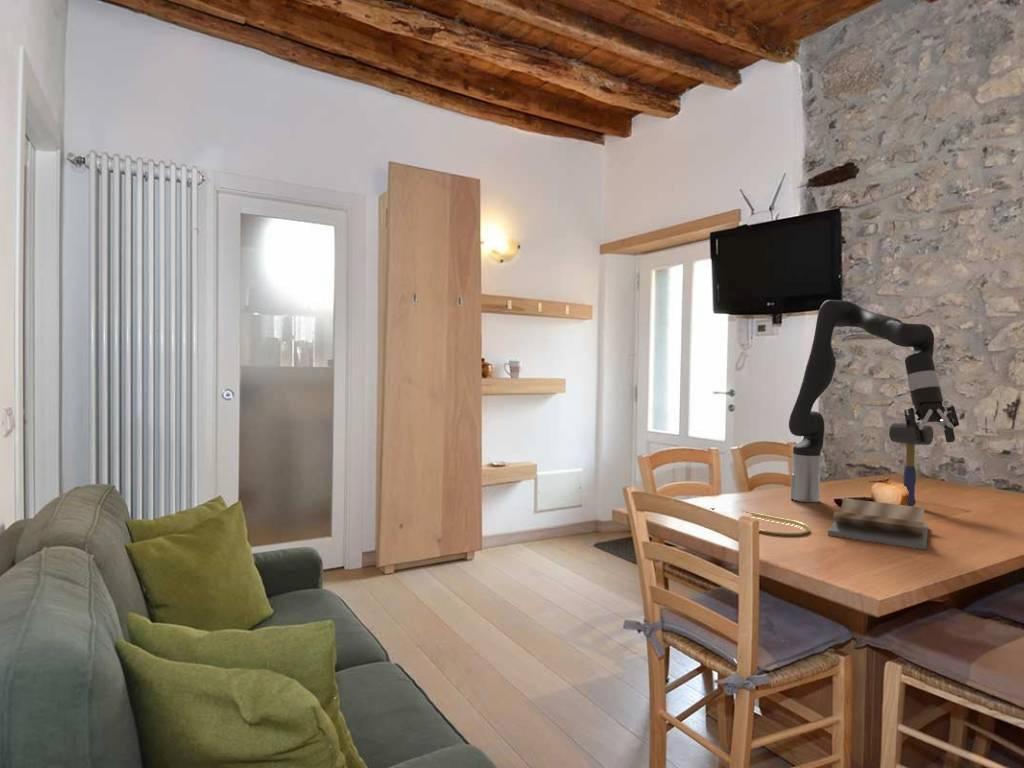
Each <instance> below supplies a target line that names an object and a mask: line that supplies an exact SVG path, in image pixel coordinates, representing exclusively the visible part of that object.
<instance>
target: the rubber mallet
mask: <svg viewBox="0 0 1024 768" xmlns="http://www.w3.org/2000/svg"><path fill="white" fill-rule="evenodd" d="M888 430H889V431H888V437H889V439H890V441H891V442H894V443H901V444H906V450H905V451H906V452H905V466H904V469H903V476H902V477H903V478H902V480H903V487H904V486H906V487H907V489H908V491H909V498H908V502H907V506H913V507H915V505H916V498H915V494H916V493H915V491H916V490H915V489H916V482H917V473H916V467H915V454H916V453H915V449H916V448H915V447H916V445H919V446H920V445H922V446H923V445H924V446H929V445H931V444H932V442H933V439H934V430H933V427H932V426H931V425H927V424H925V425H924V427H923V429H922V430H924V434H925V439H926V443H923V444H919V443H918V442H917V439H916V435H915V431H914V430H912V429H907V426H906V422H894V423H892V424H890V426H889V429H888Z"/></svg>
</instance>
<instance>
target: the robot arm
mask: <svg viewBox="0 0 1024 768" xmlns="http://www.w3.org/2000/svg"><path fill="white" fill-rule="evenodd" d="M816 318H817V319H816V324H815V331H814V336H813V342H812V343H811V344H812V345H811V349H810V354H809V356H808V360H807V363H806V366H805V369H804V370H805V371H804V373H803V375H804V376H803V379H802V382H801V385H800V390H799V391H798V392H799V393H798V395H797V398H796V400H795V403H794V406H793V409H792V411H791V413H790V416H789V420H788V428H789V432H790V433H791V435H793V436H795V437H803V439H802V440H801V441H800V442H799V443H797V444H794V446H793V448H792V450H793V451H792V473H791V475H790V477H791V478H790V480H791V481H790V500H791V499H793V501H796V500H797V501H798V502H802V503H819V502H820V497H821V496H820V490H821V489H820V487H821V486H820V485H821V482H820V481H821V452H822V449H823V446H824V437H825V419H824V417H823V415H822V414H821V413H820V412H818V411H815V410H814V411H813V410H812V409H813V406H814V404H815V403H816V401H817V400H818V398H819V397H820V396H821V395H822V394H823V393H824V392H825V391H826V389H828V388H829V386H830V384H831V383H832V381H833V377H834V373H835V371H836V367H837V361H836V357H835V352H834V350H833V346H832V336H833V333H834V332H833V331H834V329H835V328H837V327H838V328H846V327H850V328H851V327H853V328H860V329H862V330H864V331H865V332H867V333H868V334H870V335H872V336H874V337H878V338H880V339H883V340H887V341H888V342H890V343H891V344H893V345H896V346H897V347H904V348H913V353H912V354H910V355H909V354H908V355H907V356H906V357H905V358H904V365H905V368H906V369H905V370H906V374H907V383H908V389H909V393H910V398H911V403H912V405H913V406H914V407H908V408H905V409H904V411H903V412H904V418H905V423H906V426H907V429H912V430H914V431H915V435H916V439H917V442H918V443H919V444H923V443H926V439H925V434H924V430H922V429H923V427H924V425H927V423H936V424H937V425H940V426H941V427H942V429H943V433H944V437H945V441H946V442H947V443H954V442H955V440H956V436H955V432H954V428H956V427H959V426H960V422H959V418H958V416H957V411H956V409H955V406H953V405H950V406H947V407H944V405H943V402H944V399H943V398H944V397H943V394H942V389H941V385H940V381H939V378H938V377H939V376H938V374H937V372H936V368H935V363H934V359H933V358H934V357H933V356H934V348H935V335H934V332H933V330H932V328H931V327H930V326H929V325H927V324H924V323H906V322H903V321H902V320H900V319H898V318H895V317H892V316H889V315H885V314H880V313H878V312H877V313H876V312H873V311H870V310H868V309H865V308H863V307H862V306H859V305H858V304H856V303H854V302H851V301H849V300H844V299H843V300H841V299H827V300H825V301H824V302H822V304H821V305H820V306H819V309H818V313H817V316H816ZM916 416H917V417H916ZM797 501H796V502H797Z"/></svg>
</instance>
